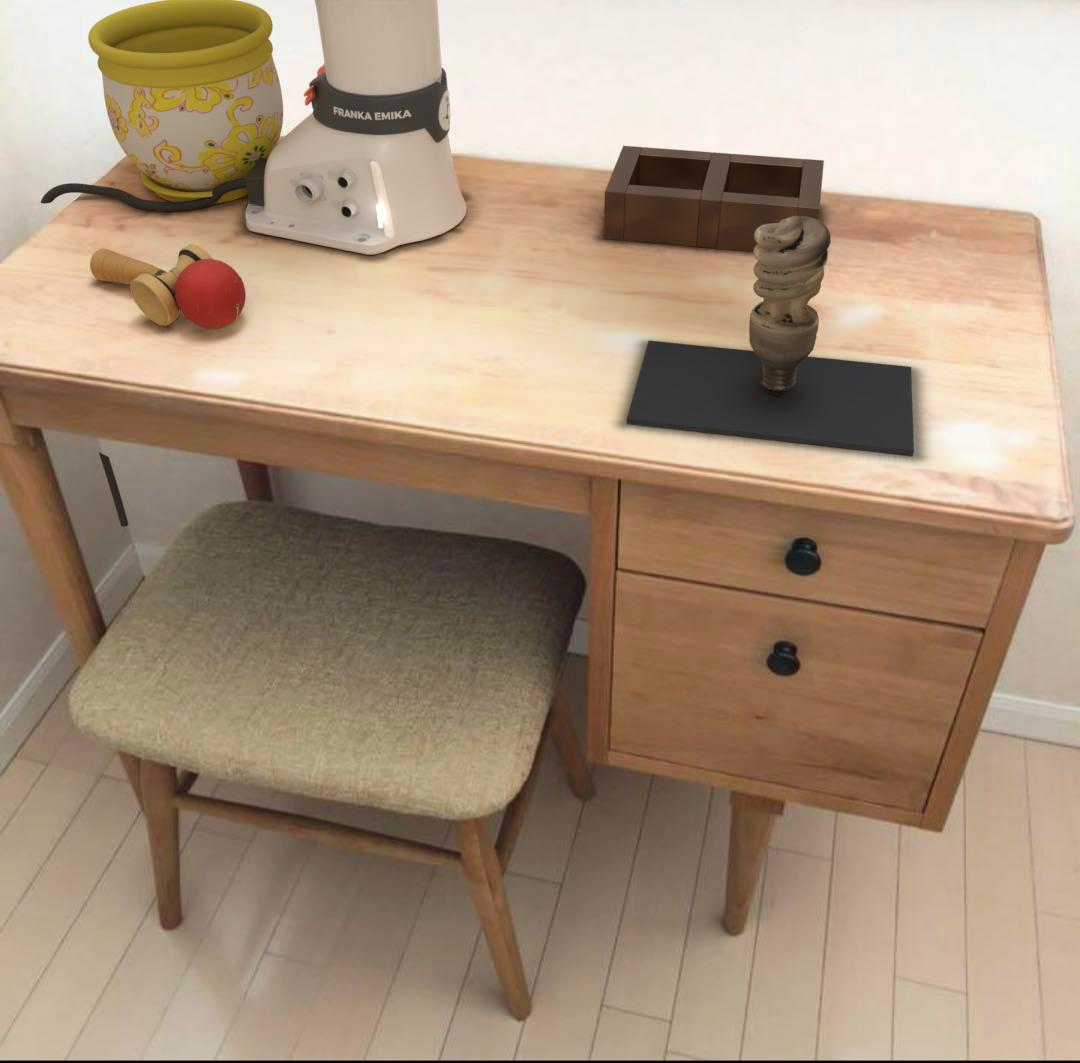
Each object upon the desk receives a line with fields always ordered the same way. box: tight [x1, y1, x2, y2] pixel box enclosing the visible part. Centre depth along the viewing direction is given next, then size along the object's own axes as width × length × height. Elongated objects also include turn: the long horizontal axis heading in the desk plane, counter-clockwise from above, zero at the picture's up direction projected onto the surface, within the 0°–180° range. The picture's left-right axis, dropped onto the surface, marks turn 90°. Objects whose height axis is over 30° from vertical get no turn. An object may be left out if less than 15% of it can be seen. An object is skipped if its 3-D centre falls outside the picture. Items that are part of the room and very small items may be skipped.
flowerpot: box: [87, 0, 284, 205], centre depth 127 cm, size 18×18×16 cm
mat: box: [626, 340, 915, 456], centre depth 99 cm, size 22×12×1 cm, turn 78°
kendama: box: [89, 243, 247, 329], centre depth 110 cm, size 8×6×18 cm
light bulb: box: [748, 216, 831, 397], centre depth 94 cm, size 6×6×15 cm
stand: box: [603, 145, 825, 253], centre depth 121 cm, size 20×11×5 cm, turn 78°
